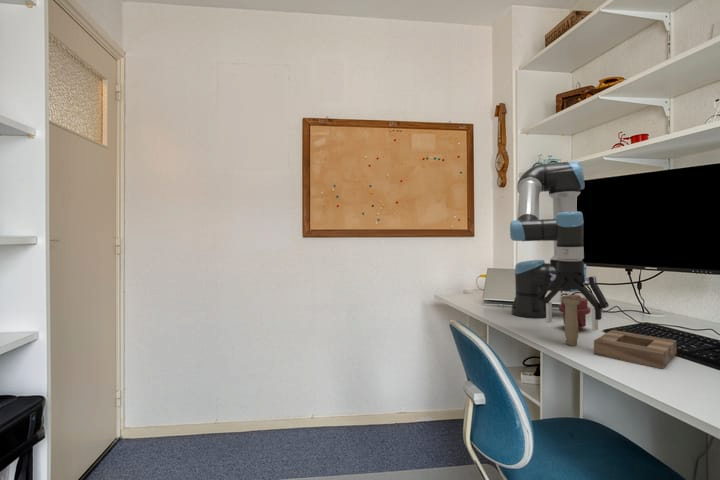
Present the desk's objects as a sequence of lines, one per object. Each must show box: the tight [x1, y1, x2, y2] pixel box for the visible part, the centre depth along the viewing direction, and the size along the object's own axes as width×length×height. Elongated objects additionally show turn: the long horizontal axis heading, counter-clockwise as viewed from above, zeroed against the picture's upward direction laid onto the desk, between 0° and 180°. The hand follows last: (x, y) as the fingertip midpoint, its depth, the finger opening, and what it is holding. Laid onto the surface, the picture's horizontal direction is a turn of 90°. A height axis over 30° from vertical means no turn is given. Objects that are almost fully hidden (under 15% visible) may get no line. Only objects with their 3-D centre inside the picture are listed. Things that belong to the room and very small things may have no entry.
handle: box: [561, 295, 580, 346], centre depth 117 cm, size 5×6×15 cm
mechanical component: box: [558, 294, 591, 333], centre depth 134 cm, size 12×10×10 cm
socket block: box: [593, 329, 677, 370], centre depth 107 cm, size 16×16×4 cm
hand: (571, 326), depth 117 cm, fingers open, 13 cm apart
